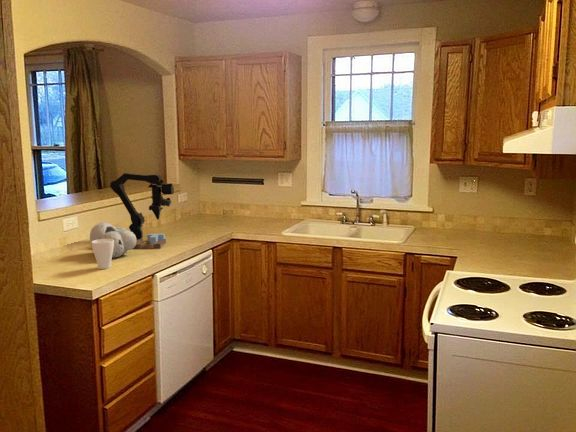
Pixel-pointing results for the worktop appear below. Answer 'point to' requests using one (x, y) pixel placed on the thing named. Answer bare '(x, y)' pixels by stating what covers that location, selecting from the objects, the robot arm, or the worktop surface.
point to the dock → (149, 245)
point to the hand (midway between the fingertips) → (158, 219)
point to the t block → (155, 238)
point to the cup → (103, 252)
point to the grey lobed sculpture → (114, 238)
